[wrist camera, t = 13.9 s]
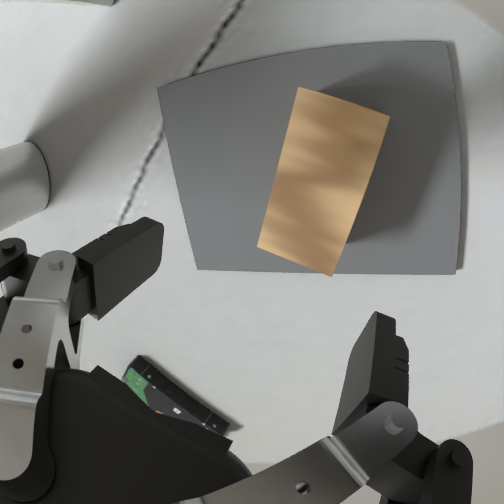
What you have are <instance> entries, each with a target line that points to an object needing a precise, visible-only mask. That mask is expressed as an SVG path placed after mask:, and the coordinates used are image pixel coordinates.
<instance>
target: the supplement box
mask: <svg viewBox="0 0 504 504" xmlns="http://www.w3.org/2000/svg"><path fill="white" fill-rule="evenodd" d="M0 2H46V3H60V4H71V5H89V6H109V7H111V6H112V4H113V2H114V0H0Z"/></svg>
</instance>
